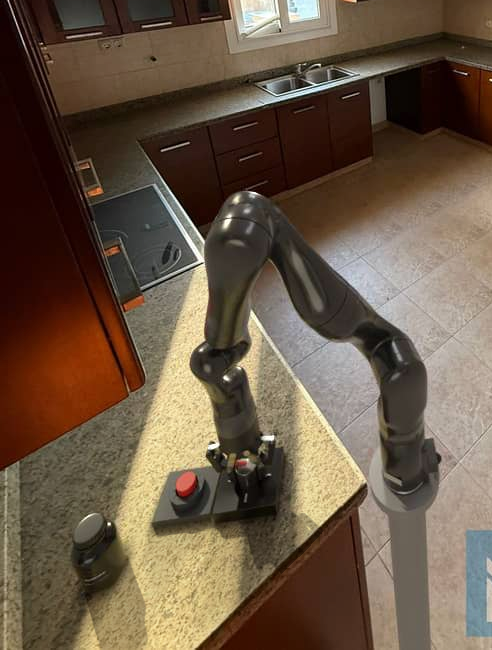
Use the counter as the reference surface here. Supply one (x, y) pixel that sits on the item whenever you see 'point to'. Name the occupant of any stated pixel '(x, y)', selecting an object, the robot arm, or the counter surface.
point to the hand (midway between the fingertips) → (249, 477)
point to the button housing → (188, 498)
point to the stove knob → (246, 474)
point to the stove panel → (250, 494)
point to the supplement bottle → (97, 553)
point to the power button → (186, 484)
